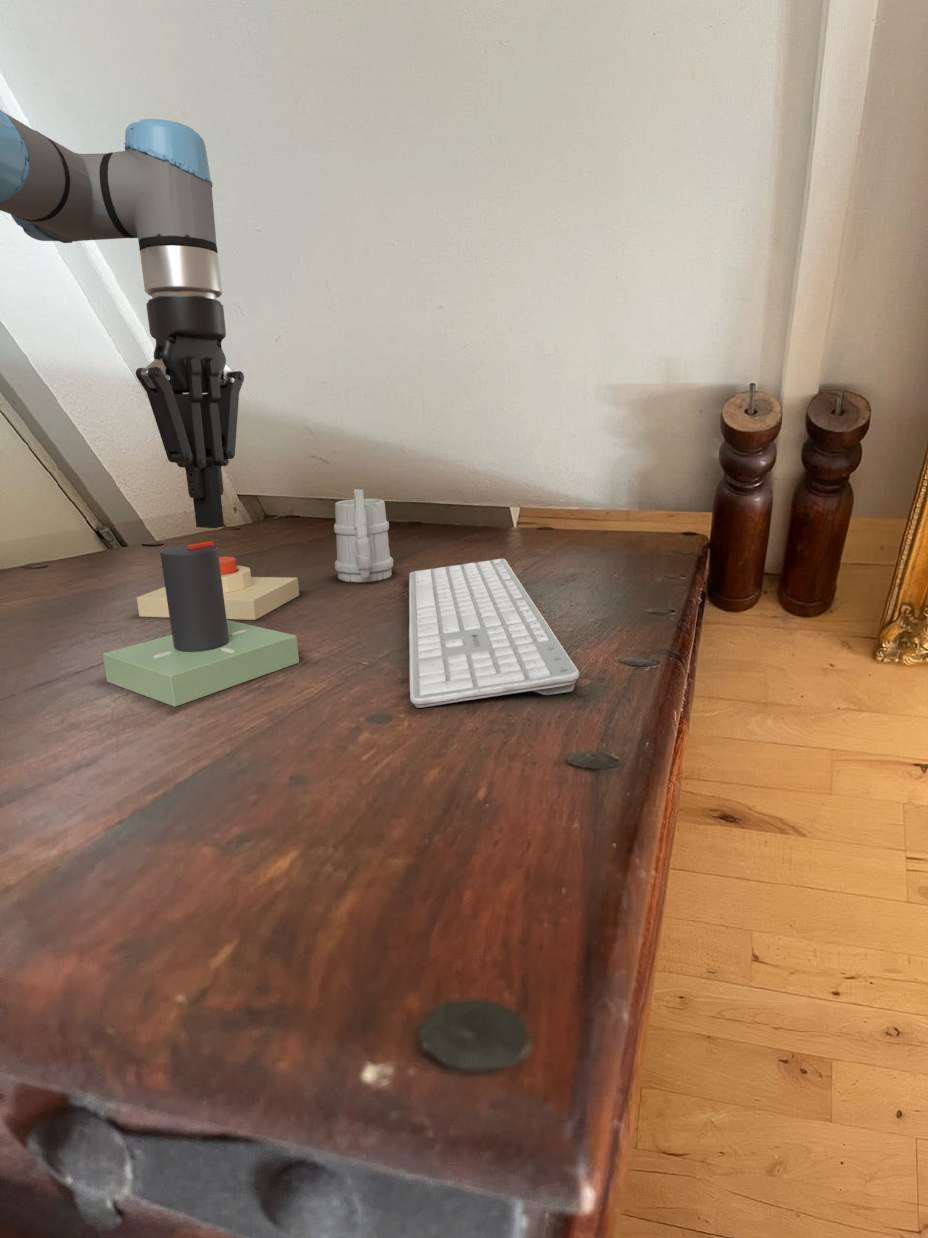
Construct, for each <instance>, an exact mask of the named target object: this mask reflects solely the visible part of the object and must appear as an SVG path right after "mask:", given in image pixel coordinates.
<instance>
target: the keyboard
mask: <svg viewBox="0 0 928 1238" xmlns="http://www.w3.org/2000/svg"><path fill="white" fill-rule="evenodd" d="M408 574H409V575H408V576H409V577H408V578H409V580H408V617H409V618H408V620H409V622H408V646H409V647H408V649H409V651H408V653H409V654H408V655H409V661H408V663H409V664H408V665H409V701H410V703H411V704H412V705H414V707H415V708H428V707H435V706H440V705H447V704H454V703H460V702H467V701H472V700H479V699H487V698H492V697H499V696H506V695H513V694H520V693H526V692H534V693H537V694H540V695H543V696H550V695H558V694H564V693H570V692H573V691H574V689H575V685H576V683H577V680H578V679H579V678H580V675H581V674H580V671H579V669H578V667H577V666H576V665H575V664H574V662H573V661H572V659H571V658H570V656H569V655H568V653H567V651H566V649H564V647H563V645H562V644H561V642H560V640H559V639H558V638H557V636H556V634H555V633H554V632H553V630H552V629H551V627H550V626H549V624H548V622H547V621H546V619H545V617H544V616H543V614H542V613H541V612H540V611H539V608H538V607H537V605H536V604H535V603H534V601H533V600H532V598H531V597H530V595H529V594H528V591H526V589H525V587H524V586H523V584H522V583H521V581H520V579H519V578H518V577H517V575H516V574H515V572H514V571H513V568H511V566H510V564H509V563H508V561H507V560H506V559H505V558H497V559H491V560H484V561H477V562H469V563H463V564H456V565H449V566H442V567H436V568H435V567H434V568H428V569H420V570H414V571H411V572H410V573H408Z"/></svg>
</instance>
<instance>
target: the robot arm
mask: <svg viewBox="0 0 928 1238" xmlns="http://www.w3.org/2000/svg"><path fill="white" fill-rule="evenodd" d="M123 144H124V150H122V151H121V150H120V151H115V152H113V151H112V152H107V153H105V152H104V153H78V152H74V151H72V150H70V149H68V148H67V147H65V146H64V145H62V144H60V143H58V142H56V141H54V140H53V139H51V138H49V137H48V136H46V135H45V134H43V133H41V132H39V131H38V130H35V129H33V128H32V127H29V126H28V125H26V124H24V123H23V122H21V121H19V120H17V119H16V118H15V117H12V116H11V115H9V114H8V113H6V112H4V111H3V110H1V109H0V211H1V212H3V213H6V214H9V215H10V216H11V218H12V220H13V221H14V222H15V224H16V225H17V226H20V227H21V228H22V230H23V232H24V234H26V236H29V237H30V238H31V239H34V240H36V241H41V242H60V243H62V244H72V243H73V242H75V243H76V242H83V241H102V240H103V241H104V240H119V239H120V240H121V239H137V240H138V241H137V242H138V247H139V248H138V249H139V255H140V264H141V273H142V279H143V288H144V292H145V293H146V294H147V295H148V296H151V298H150V299H149V300H148V301H147V302H146V313H147V320H148V321H147V322H148V328H149V329H148V330H149V335H150V336H151V337H152V338H153V340H155V347H154V351H153V361H152V362H150V363H149V364H148V365H147V366H146V367H138V368H137V369H136V370H135V377H136V378H137V380H138V381H139V383H140V385H141V387H143V389H144V390H145V392H146V394H147V397H148V401H149V404H150V408H151V411H152V414H153V417H154V420H155V423H156V426H157V429H158V433H159V435H160V439H161V442H162V445H163V448H164V451H165V454H166V456H167V460H168V461H169V463H175V464H176V465H177V467H179V468H184V469H185V475H186V484H187V492H188V495H189V498H190V499H192V501H193V509H194V517H195V518H194V519H195V524H196V525H195V526H196V528H204V529H205V528H206V529H217V528H218V529H219V528H223V527H225V521H224V512H223V502H222V496H223V495H224V489H225V488H224V482H223V472H222V467H227V466H228V465H229V464H230V460H233V459H234V458H235V456H236V444H237V429H238V415H239V402H240V400H239V399H240V392H241V389H242V386H243V383H244V382H245V374H244V373H243V372H242V371H241V370H233V369H232V367H230V366H229V365H228V364H227V358H226V354H225V353H224V350H223V348H222V342H223V340H224V339H225V338H226V336H227V329H226V321H225V309H224V305H223V304H222V302H221V301H220V300H218V298H220V297H221V296H222V295H223V287H222V279H221V277H222V276H221V270H220V268H221V267H220V260H219V252H218V246H217V245H218V244H217V235H216V223H215V221H216V220H215V212H214V211H215V210H214V197H213V181H212V178H211V172H210V166H209V159H208V153H207V145H206V143H205V140H204V139H203V137H202V136H201V135H200V133H198V132H197V131H195V129H193V128H192V127H191V126H188V125H187V124H184V123H181V122H178V121H173V120H168V119H160V118H159V119H158V118H146V119H145V118H143V119H140V120H139V121H135V122H134V121H133V122H131V123H129V124H128V125H127V126H126V129H125V131H124V143H123Z"/></svg>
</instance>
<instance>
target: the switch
mask: <svg viewBox="0 0 928 1238" xmlns="http://www.w3.org/2000/svg"><path fill="white" fill-rule="evenodd" d="M236 560H237V559H236V557H233V556H219V562H220V570H221V575H227V574H232V573H236V572H237V567H236V566H237V561H236Z"/></svg>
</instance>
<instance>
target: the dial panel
mask: <svg viewBox="0 0 928 1238" xmlns="http://www.w3.org/2000/svg"><path fill="white" fill-rule="evenodd" d="M227 627H228V635H229V641H228V643H226V644H225V645H223V646H220V647H217V648H214V649H209V650H203V651H180V650H177V649H175V648H174V644H173V638H172V634H170V635H169V634H168V635H166V636H162V637H159V638H154V639H150V640H147V641H143V642H140V643H137V644H133V645H129V646H126V647H122V648H117V649H114V650H110V651H107V652H104V653H102V659H103V665H104V671H105V677H106V682H107V683H108V684H112V685H114V686H117V687H120V688H123V689H125V690H127V691H130V692H133V693H136V694H138V695H141V696H145V697H147V698H150V699H152V700H155V701H157V702H161V703H163V704H166V705H169V706H171V707H173V708H175V707H178V706H181V705H184V704H187V703H190V702H192V701H195V700H198V699H202V698H204V697H207V696H210V695H212V694H215V693H218V692H221V691H224V690H227V689H229V688H232V687H235V686H238V685H241V684H244V683H246V682H249V681H252V680H255V679H257V678H261V677H263V676H266V675H268V674H272V673H274V672H277V671H280V670H283V669H285V668H288V667H291V666H294V665H297V664H299V663H300V656H299V644H298V637H297V635H296V634H291V633H287V632H283V631H279V630H273V629H269V628H265V627H261V626H257V625H251V624H247V623H243V622H239V621H235V620H231V619H227Z"/></svg>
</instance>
